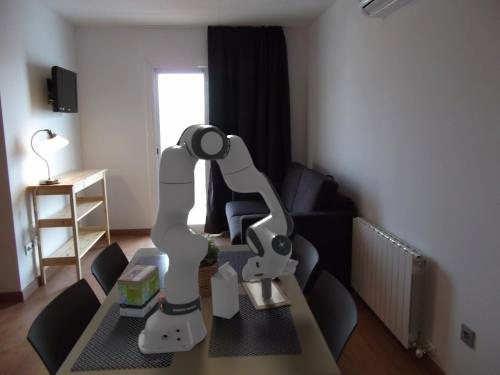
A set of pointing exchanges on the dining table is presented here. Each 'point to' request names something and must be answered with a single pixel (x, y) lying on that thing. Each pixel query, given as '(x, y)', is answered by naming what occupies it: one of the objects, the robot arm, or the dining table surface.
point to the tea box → (138, 290)
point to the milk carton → (225, 292)
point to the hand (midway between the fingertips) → (265, 278)
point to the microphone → (266, 288)
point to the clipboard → (260, 303)
